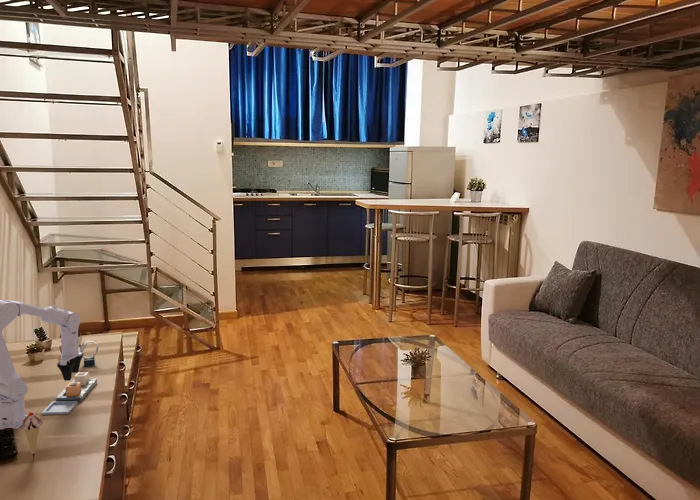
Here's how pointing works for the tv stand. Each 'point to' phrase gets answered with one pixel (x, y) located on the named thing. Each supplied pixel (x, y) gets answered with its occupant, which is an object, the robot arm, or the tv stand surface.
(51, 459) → the tv stand surface
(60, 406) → the tray
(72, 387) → the plug
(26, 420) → the ice cream cone
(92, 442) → the tv stand surface
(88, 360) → the watch
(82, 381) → the beige box
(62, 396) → the grey rectangular holder
